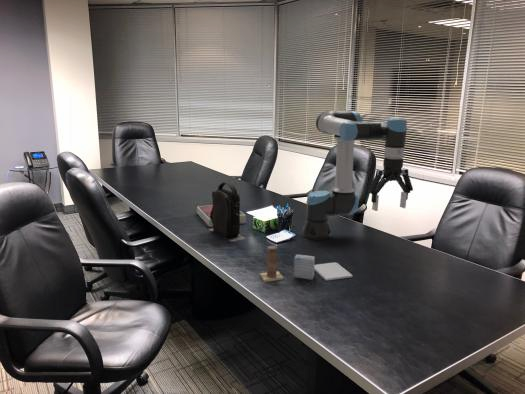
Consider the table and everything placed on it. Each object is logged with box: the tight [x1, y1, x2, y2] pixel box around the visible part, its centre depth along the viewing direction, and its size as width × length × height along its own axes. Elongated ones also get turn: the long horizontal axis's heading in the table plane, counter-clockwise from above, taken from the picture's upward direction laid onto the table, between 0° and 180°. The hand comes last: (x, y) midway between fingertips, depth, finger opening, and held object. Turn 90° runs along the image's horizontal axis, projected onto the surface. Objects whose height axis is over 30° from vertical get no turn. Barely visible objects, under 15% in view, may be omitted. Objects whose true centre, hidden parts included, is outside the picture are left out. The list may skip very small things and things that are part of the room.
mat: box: [314, 262, 353, 282], centre depth 174 cm, size 14×12×1 cm
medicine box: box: [293, 254, 316, 281], centre depth 168 cm, size 8×4×9 cm, turn 74°
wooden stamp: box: [259, 245, 284, 283], centre depth 167 cm, size 6×8×13 cm
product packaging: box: [196, 204, 247, 228], centre depth 246 cm, size 22×28×5 cm
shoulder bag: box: [209, 181, 246, 243], centre depth 216 cm, size 23×9×28 cm, turn 37°
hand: (388, 208), depth 170 cm, fingers open, 13 cm apart
